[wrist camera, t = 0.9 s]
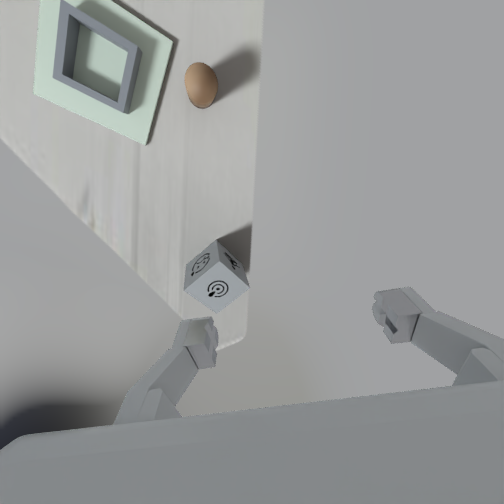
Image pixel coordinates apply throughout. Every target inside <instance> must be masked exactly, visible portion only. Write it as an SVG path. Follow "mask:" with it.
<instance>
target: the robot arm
mask: <svg viewBox="0 0 504 504" xmlns="http://www.w3.org/2000/svg"><path fill="white" fill-rule="evenodd" d="M374 299H375V300H376V302H375V303H374V304H373V308H372V310H373V315H374V317H375V320H376V321H377V323H378V324H380V325H381V326H383V327H384V330H383V332H384V333H385V335H386V336H387V338H388V339H389V341H390V342H391V344H392V343H393V344H394V343H403V342H411V343H412V344H413V345H415V346H417V347H418V348H419V349H421V350H422V351H424V352H425V353H427V354H428V355H429V356H431V357H433V358H434V359H435V360H437V361H438V362H440V363H441V364H443V365H444V366H446V367H447V368H449V369H450V370H451V371H453V372H454V373H456V374H457V377H456V378H455V380H454V382H453V385H452V386H447V387H439V388H430V389H421V390H413V391H404V392H396V393H387V394H378V395H369V396H360V397H352V398H343V399H335V400H326V401H317V402H309V403H300V404H292V405H283V406H274V407H265V408H257V409H248V410H240V411H231V412H222V413H213V414H205V415H196V416H188V417H182V416H181V415H180V413H179V412H178V411H177V409H176V408H175V406H176V404H177V403H178V401H179V400H180V398H181V397H182V395H183V393H184V392H185V391H186V389H187V387H188V386H189V384H190V383H191V381H192V380H193V378H194V377H195V375H196V374H197V372H198V369H204V368H210V367H215V364H216V357H217V353H216V351H215V349H216V348H217V346H218V332H217V328H216V327H215V326H213V323H214V321H213V319H212V317H202V318H194V319H187V320H182V322H180V325H179V328H178V331H177V334H176V337H175V340H174V343H173V347H172V349H168V351H167V352H166V353H165V354H164V355H163V356H162V357H161V358H160V359H159V360H158V361H157V362H156V363H155V364H154V365H153V366H152V367H151V368H150V369H149V370H148V371H147V372H146V373H145V374H144V375H143V376H142V377H141V378H140V379H139V380H138V381H137V383H136V384H135V385H134V386H133V387H132V388H131V389H130V390H129V391H128V392H127V395H126V397H125V399H124V402H123V404H122V406H121V408H120V411H119V413H118V415H117V418H116V420H115V422H114V424H113V425H109V426H101V427H92V428H83V429H75V430H66V431H57V432H48V433H39V434H30V435H25V436H22V437H19V438H17V439H16V440H14V441H12V442H11V443H10V444H8V445H7V446H6V447H4V448H3V449H2V450H0V504H504V339H502V338H500V337H498V336H495V335H493V334H490V333H488V332H486V331H484V330H481V329H479V328H477V327H475V326H472V325H470V324H468V323H465V322H463V321H461V320H458V319H456V318H453V317H451V316H449V315H447V314H445V313H442V312H440V311H438V312H436V311H435V310H434V309H433V308H432V307H431V306H430V305H429V304H428V303H427V302H426V301H425V300H424V299H423V298H422V297H421V296H420V295H419V294H417V293H416V291H414V290H413V289H412V288H411V287H404V288H398V289H391V290H384V291H378V292H376V293H375V294H374Z"/></svg>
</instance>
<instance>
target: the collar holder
mask: <svg viewBox="0 0 504 504" xmlns="http://www.w3.org/2000/svg"><path fill="white" fill-rule="evenodd" d="M172 47H173V41H171V40H170V39H168V38H167V37H165V36H164V35H162V34H161V33H159V32H158V31H156V30H155V29H153V28H152V27H150V26H149V25H147V24H146V23H144V22H143V21H141V20H140V19H138V18H137V17H135V16H134V15H132V14H131V13H129V12H128V11H126V10H125V9H123V8H122V7H120V6H119V5H117V4H116V3H114V2H113V1H111V0H40V8H39V21H38V34H37V47H36V61H35V74H34V87H33V94H35V95H37V96H39V97H41V98H43V99H46V100H48V101H50V102H52V103H54V104H56V105H59V106H61V107H63V108H65V109H67V110H69V111H72V112H74V113H76V114H78V115H80V116H82V117H85V118H87V119H89V120H91V121H93V122H96V123H98V124H100V125H102V126H104V127H106V128H109V129H111V130H113V131H115V132H117V133H119V134H122V135H124V136H126V137H128V138H130V139H132V140H135V141H137V142H139V143H141V144H143V145H146V144H147V141H148V137H149V133H150V129H151V126H152V122H153V118H154V114H155V111H156V107H157V103H158V99H159V96H160V92H161V88H162V84H163V81H164V77H165V73H166V69H167V66H168V62H169V58H170V54H171V51H172Z"/></svg>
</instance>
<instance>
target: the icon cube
mask: <svg viewBox="0 0 504 504" xmlns="http://www.w3.org/2000/svg"><path fill="white" fill-rule="evenodd" d="M249 288H250V286H249V283H248V280H247V277H246V274H245V271H244V268H243V265H242V264H241V263H240V262H239V261H238V260H237V259H236V258H235V257H234V256H233V255H232V254H231V253H230V252H229V251H228V250H227V249H226V248H224V247H223V246H222V245H221V244H220V243H219V242H218V241H217V240H215V241H214V242H213V243H212V244H210V245H209V246H208V247H207V248H206V249H205V250H203V251H202V252H201V253H200V254H199V255H197V256H196V257H195V258H194V259H193V260H192V261H190V262H189V263H188V264H187V265H186V272H185V282H184V291H185V292H187V293H188V294H189V295H191V296H192V297H194V298H195V299H197V300H198V301H199V302H201V303H202V304H204V305H205V306H207V307H208V308H209V309H211V310H212V311H214V312H215V313H218V312H220V311H221V310H222V309H223V308H225V307H226V306H227V305H229V304H230V303H231V302H232V301H234V300H235V299H236V298H238V297H239V296H240V295H241V294H243V293H244V292H245V291H247V290H248V289H249Z"/></svg>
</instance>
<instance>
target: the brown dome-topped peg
mask: <svg viewBox="0 0 504 504" xmlns="http://www.w3.org/2000/svg"><path fill="white" fill-rule="evenodd" d="M185 86H186V90H187V93H188V96H189V99H190V101H191V102H192V104H193V105H194V106H196V107H198V108H201V109H204V108H207V107H209V106H210V105H211V104H212V102H213V100H214V98H215V96H216V93H217V90H218V81H217V77H216V75H215V73H214V71H213V70H212V69H211V68H210V67H209V66H208V65H206V64H204V63H200V62H198V63H194V64H192V65H191V66H190V67H189V68H188V69H187V71H186V74H185Z"/></svg>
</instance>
